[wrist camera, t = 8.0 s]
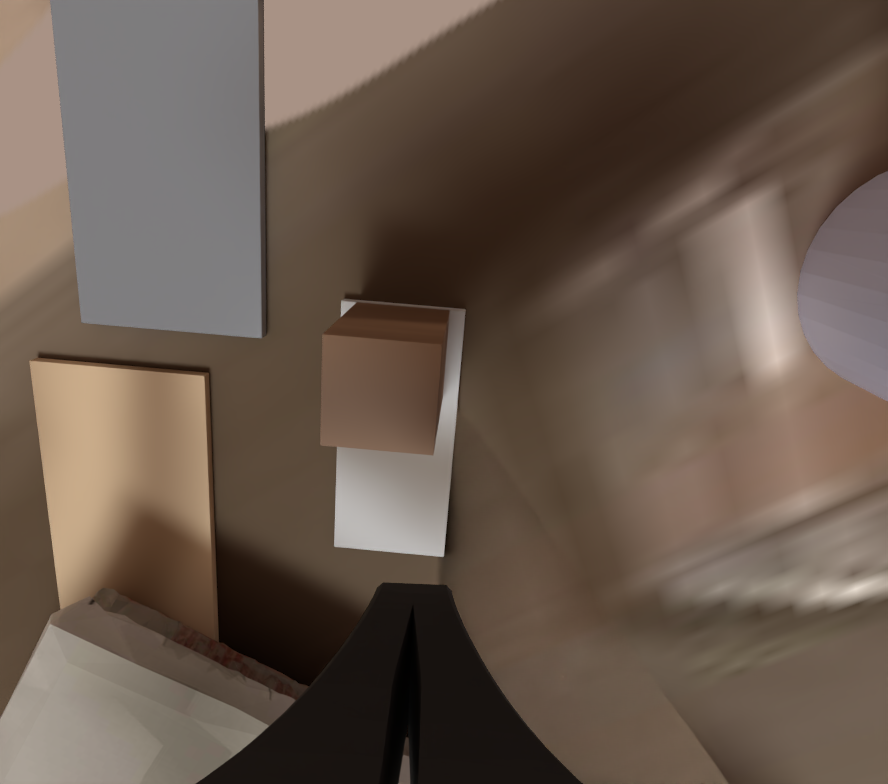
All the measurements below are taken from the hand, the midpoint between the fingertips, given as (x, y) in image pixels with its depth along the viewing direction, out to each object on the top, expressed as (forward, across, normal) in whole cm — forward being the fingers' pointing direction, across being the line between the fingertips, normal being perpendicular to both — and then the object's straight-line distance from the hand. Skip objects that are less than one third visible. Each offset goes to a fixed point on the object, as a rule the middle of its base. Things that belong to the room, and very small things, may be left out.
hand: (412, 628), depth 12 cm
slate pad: (+11, +8, -9) cm, 16 cm away
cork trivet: (+11, +11, +8) cm, 17 cm away
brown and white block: (+11, +1, 0) cm, 11 cm away
